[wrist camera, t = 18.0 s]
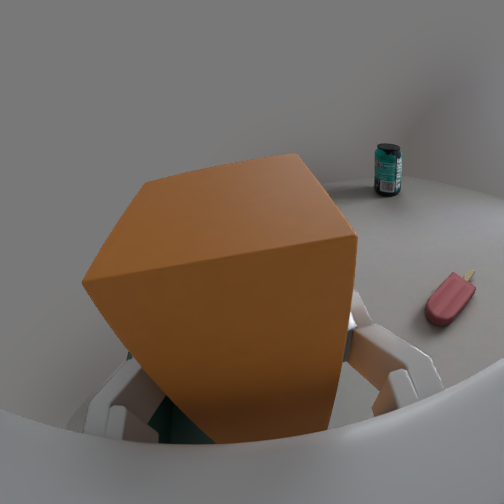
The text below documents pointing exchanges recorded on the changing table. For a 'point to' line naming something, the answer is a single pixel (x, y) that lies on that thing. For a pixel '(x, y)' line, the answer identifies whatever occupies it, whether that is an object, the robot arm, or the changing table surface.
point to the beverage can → (388, 169)
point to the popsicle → (449, 298)
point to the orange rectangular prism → (234, 295)
